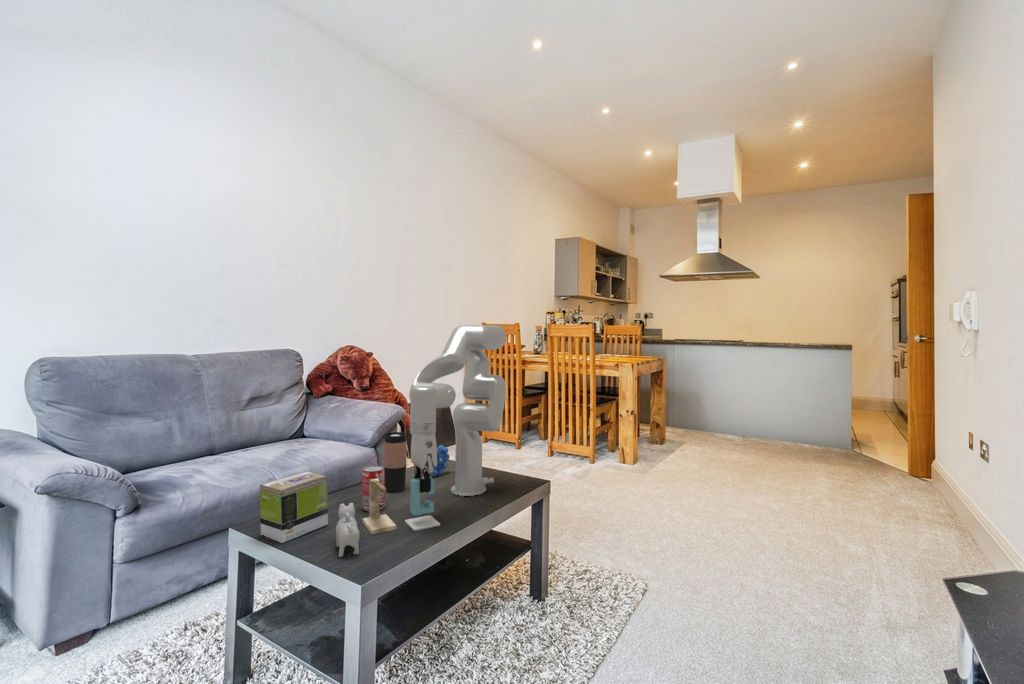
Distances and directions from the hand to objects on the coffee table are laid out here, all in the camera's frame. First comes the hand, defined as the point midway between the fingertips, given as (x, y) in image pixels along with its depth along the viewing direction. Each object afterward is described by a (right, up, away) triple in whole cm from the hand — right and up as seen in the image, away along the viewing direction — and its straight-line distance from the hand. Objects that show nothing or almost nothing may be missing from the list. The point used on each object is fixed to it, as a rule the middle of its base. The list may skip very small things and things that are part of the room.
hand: (422, 489), depth 143 cm
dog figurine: (-17, -11, -16) cm, 26 cm away
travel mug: (-16, -10, +31) cm, 36 cm away
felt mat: (0, -10, 0) cm, 10 cm away
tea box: (-35, -10, -6) cm, 37 cm away
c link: (0, -7, 0) cm, 7 cm away
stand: (-12, -10, -2) cm, 16 cm away
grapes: (-3, -10, +49) cm, 51 cm away
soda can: (-18, -10, +12) cm, 24 cm away
